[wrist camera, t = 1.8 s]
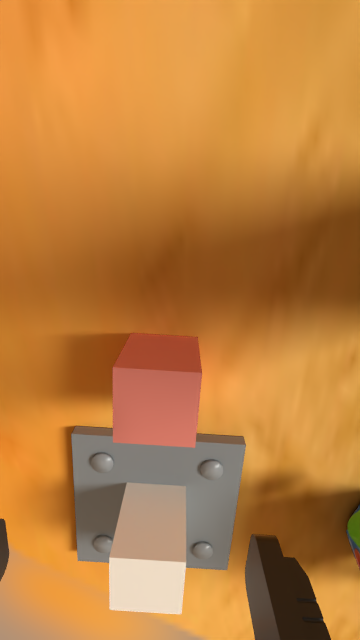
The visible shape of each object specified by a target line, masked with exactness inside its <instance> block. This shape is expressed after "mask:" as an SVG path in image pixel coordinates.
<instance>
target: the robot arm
mask: <svg viewBox="0 0 360 640" xmlns="http://www.w3.org/2000/svg"><path fill="white" fill-rule="evenodd" d="M8 558H9V548H8V540H7V532H6V525H5V521H4V519H0V581H1V579H2V577H3V575H4V572H5V569H6V567H7V563H8ZM245 581H246V590H247V596H248V602H249V607H250V613H251V618H252V624H253V629H254V635H255V640H331V638H330V635H329V633H328V630H327V627H326V624H325V623H324V621H323V616H322V613H321V611H320V608H319V605H318V604H317V602H316V597H315V594H314V592H313V589H312V586H311V583H310V581H309V578H308V576H307V575H306V573H305V572H304V570H303V569H302V568H301V566H300V565H299V563H298V562H297V560H296V559H295V558H289V557H283V554H282V551H281V548H280V545H279V542H278V539H277V537H276V536H274V535H257V534H252V535H251V539H250V545H249V550H248V556H247V561H246V567H245Z"/></svg>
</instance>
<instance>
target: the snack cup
mask: <svg viewBox="0 0 360 640" xmlns="http://www.w3.org/2000/svg"><path fill="white" fill-rule="evenodd" d="M347 528H348V529H347V530H346V532H347V536H348V539H349V542H350V545H351V548H352V551H353V554H354V556H355V559H356V561H357V564H358V566H359V569H360V505H359V506H358V508H357V510H356V511H355V512H354V513H353V515H352V516H351V518H350V520H349V521H348V526H347Z"/></svg>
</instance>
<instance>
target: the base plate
mask: <svg viewBox="0 0 360 640" xmlns="http://www.w3.org/2000/svg"><path fill="white" fill-rule="evenodd" d="M71 437H72V456H73V476H74V496H75V516H76V535H77V555H78V561H91V562H107V563H109V557H110V552H111V548H112V544H113V539H114V535H115V531H116V527H117V522H118V518H119V514H120V510H121V505H122V501H123V497H124V493H125V488H126V484H127V482H128V483H144V484H160V485H175V486H186V568H202V569H217V570H227V567H228V561H229V554H230V547H231V541H232V534H233V527H234V521H235V514H236V507H237V501H238V494H239V487H240V481H241V474H242V467H243V460H244V454H245V447H246V444H245V440H244V437H241V436H225V435H209V434H196V444H195V448H192V447H177V446H161V445H145V444H129V443H113V428H99V427H84V426H76V427H75V428H74V430H73V432H72V434H71Z"/></svg>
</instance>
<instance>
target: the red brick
mask: <svg viewBox="0 0 360 640" xmlns="http://www.w3.org/2000/svg"><path fill="white" fill-rule="evenodd" d="M201 378H202V369H201V361H200V353H199V345H198V337H188V336H172V335H156V334H141V333H131V334H130V336H129V338H128V340H127V342H126V344H125V346H124V347H123V349H122V351H121V353H120V355H119V357H118V358H117V360H116V362H115V364H114V366H113V443H129V444H145V445H161V446H177V447H192V448H195V444H196V433H197V422H198V411H199V400H200V389H201Z"/></svg>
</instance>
